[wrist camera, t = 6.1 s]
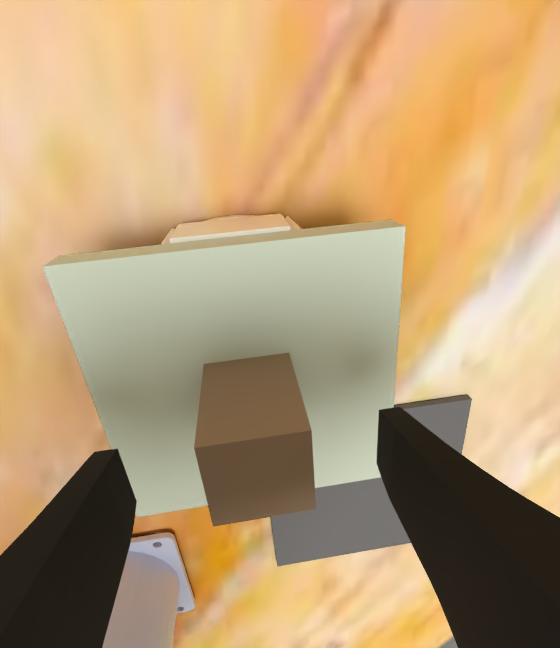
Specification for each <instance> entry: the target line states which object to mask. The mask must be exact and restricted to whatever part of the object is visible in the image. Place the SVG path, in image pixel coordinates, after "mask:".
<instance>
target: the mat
mask: <svg viewBox="0 0 560 648" xmlns="http://www.w3.org/2000/svg"><path fill="white" fill-rule="evenodd" d="M471 400H472V399H471V398H470V397H469V396H468V395H462V396H456V397H449V398H442V399H435V400H428V401H422V402H415V403H408V404H401V405H394V407H401V408H402V409H403V410H405V411H406V412H407V413H409V414H410V415H411V416H412V417H414V418H415V419H416V420H417V421H419V422H420V423H421V424H422V425H424V426H425V427H426V428H427V429H429V430H430V431H431V432H433V433H434V434H435V435H436V436H438V437H439V438H440V439H441V440H443V441H444V442H445V443H447V444H448V445H449V446H451V447H452V448H453V449H455V450H456V451H457V452H459V453H460V454H462V449H463V444H464V438H465V433H466V427H467V422H468V417H469V411H470V406H471ZM315 498H316V509H314V510H308V511H302V512H296V513H290V514H284V515H278V516H272V517H271V523H272V530H273V537H274V545H275V552H276V560H277V566H282V565H288V564H293V563H299V562H305V561H310V560H316V559H322V558H327V557H333V556H339V555H344V554H350V553H356V552H361V551H367V550H373V549H378V548H384V547H390V546H395V545H401V544H407V543H411V541H410V539H409V537H408V535H407V533H406V531H405V529H404V527H403V525H402V523H401V521H400V519H399V517H398V515H397V513H396V511H395V509H394V507H393V505H392V503H391V501H390V499H389V497H388V494H387V491H386V489H385V486H384V483H383V481H382V478H381V477H380V478H374V479H368V480H362V481H355V482H349V483H343V484H337V485H331V486H325V487H319V488H315Z"/></svg>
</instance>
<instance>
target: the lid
mask: <svg viewBox="0 0 560 648" xmlns="http://www.w3.org/2000/svg"><path fill="white" fill-rule="evenodd" d="M405 230H406V226H404V225H402V224H400V223H398V222H396V221H393V220H391V219H389V220H380V221H371V222H362V223H353V224H344V225H335V226H326V227H316V228H307V229H298V230H289V231H280V232H271V233H262V234H253V235H243V236H234V237H225V238H216V239H207V240H198V241H189V242H180V243H170V244H161V245H152V246H143V247H134V248H125V249H116V250H107V251H97V252H88V253H79V254H70V255H61V256H58V257H56V258H55V259H53V260H52V261H50V262H49V263H47V264H45V265H44V266H42V267H43V270H44V272H45V275H46V278H47V280H48V283H49V286H50V288H51V291H52V293H53V296H54V299H55V301H56V304H57V307H58V309H59V312H60V315H61V317H62V320H63V323H64V325H65V328H66V330H67V333H68V336H69V338H70V341H71V344H72V346H73V349H74V352H75V354H76V357H77V360H78V362H79V365H80V367H81V370H82V373H83V375H84V378H85V381H86V383H87V386H88V389H89V391H90V394H91V397H92V399H93V402H94V404H95V407H96V410H97V412H98V415H99V418H100V420H101V423H102V426H103V428H104V431H105V434H106V436H107V439H108V441H109V444H110V447H111V449H118V451H119V454H120V457H121V459H122V462H123V465H124V468H125V470H126V473H127V476H128V479H129V481H130V484H131V487H132V490H133V492H134V495H135V498H136V501H137V504H136V511H135V513H136V515H137V517H141V516H148V515H154V514H160V513H166V512H172V511H178V510H184V509H190V508H196V507H203V506H208V507H209V511H210V515H211V519H212V523H213V526H218V525H224V524H230V523H236V522H242V521H248V520H254V519H260V518H266V517H272V516H278V515H284V514H290V513H296V512H302V511H308V510H314V509H316V498H315V488H319V487H325V486H331V485H337V484H343V483H349V482H355V481H362V480H368V479H374V478H380V477H381V475H380V472H379V469H378V466H377V463H376V461H377V439H378V418H379V410H381V409H387V408H394V393H395V378H396V363H397V349H398V334H399V319H400V304H401V289H402V274H403V259H404V245H405Z"/></svg>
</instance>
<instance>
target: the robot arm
mask: <svg viewBox="0 0 560 648" xmlns="http://www.w3.org/2000/svg"><path fill="white" fill-rule="evenodd" d="M376 463H377V466H378V469H379V472H380V475H381V478H382V481H383V483H384V486H385V489H386V491H387V494H388V497H389V499H390V501H391V503H392V505H393V507H394V509H395V511H396V513H397V515H398V517H399V519H400V521H401V523H402V525H403V527H404V529H405V531H406V533H407V535H408V537H409V539H410V541H411V543H412V545H413V547H414V549H415V551H416V553H417V555H418V557H419V559H420V561H421V563H422V565H423V567H424V569H425V571H426V573H427V575H428V577H429V579H430V581H431V583H432V586H433V588H434V590H435V592H436V594H437V597H438V599H439V601H440V603H441V606H442V608H443V611H444V613H445V616H446V618H447V621H448V623H449V626H450V628H451V631H452V633H453V636H454V638H455V641H456V643H457V646H458V648H560V518H559V517H558V516H556V515H554V514H552V513H551V512H549V511H547V510H546V509H544V508H542V507H541V506H539V505H537V504H535V503H534V502H532V501H530V500H529V499H527V498H525V497H524V496H522V495H520V494H519V493H517V492H516V491H514V490H512V489H511V488H509V487H508V486H506V485H505V484H503V483H502V482H500V481H499V480H497V479H496V478H494V477H493V476H491V475H490V474H488V473H487V472H485V471H484V470H482V469H481V468H480V467H478V466H477V465H475V464H474V463H472V462H471V461H470V460H468V459H467V458H465V457H464V456H463V455H461V454H460V453H459V452H457V451H456V450H455V449H453V448H452V447H451V446H449V445H448V444H447V443H445V442H444V441H443V440H441V439H440V438H439V437H438V436H436V435H435V434H434V433H433V432H431V431H430V430H429V429H427V428H426V427H425V426H424V425H422V424H421V423H420V422H419V421H417V420H416V419H415V418H414V417H412V416H411V415H410V414H409V413H407V412H406V411H405V410H403V409H402V408H401V407H394V408H387V409H381V410H379V418H378V439H377V461H376ZM136 504H137V501H136V498H135V495H134V492H133V490H132V487H131V484H130V481H129V479H128V476H127V473H126V470H125V468H124V465H123V462H122V459H121V457H120V454H119V451H118V449H111V450H105V451H98V452H94V453H93V454H92V455H91V456H90V457H89V458H88V459H87V461H86V462H85V463H84V464H83V465H82V466H81V467H80V469H79V470H78V471H77V472H76V473H75V474H74V476H73V477H72V478H71V479H70V480H69V481H68V482H67V484H66V485H65V486H64V487H63V488H62V489H61V490H60V492H59V493H58V494H57V495H56V496H55V497H54V498H53V500H52V501H51V502H50V503H49V504H48V505H47V506H46V507H45V508H44V510H43V511H42V512H41V513H40V514H39V515H38V516H37V517H36V519H35V520H34V521H33V522H32V523H31V524H30V525H29V526H28V527H27V528H26V529H25V530H24V532H23V533H22V534H21V535H20V536H19V537H18V538H17V539H16V540H15V541H14V542H13V543H12V544H11V545H10V546H9V547H8V548H7V549H6V550H5V551H4V552H3V553H2V554H1V556H0V648H173V641H174V632H175V623H176V614H177V613H182V612H188V611H191V610H193V609H194V608H195V599H194V596H193V592H192V589H191V586H190V583H189V580H188V577H187V573H186V570H185V567H184V564H183V561H182V558H181V555H180V551H179V548H178V545H177V542H176V539H175V536H174V535H173V534H172V533H169V532H165V533H159V534H153V535H147V536H141V537H135V538H131V537H132V531H133V525H134V518H135V511H136Z"/></svg>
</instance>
